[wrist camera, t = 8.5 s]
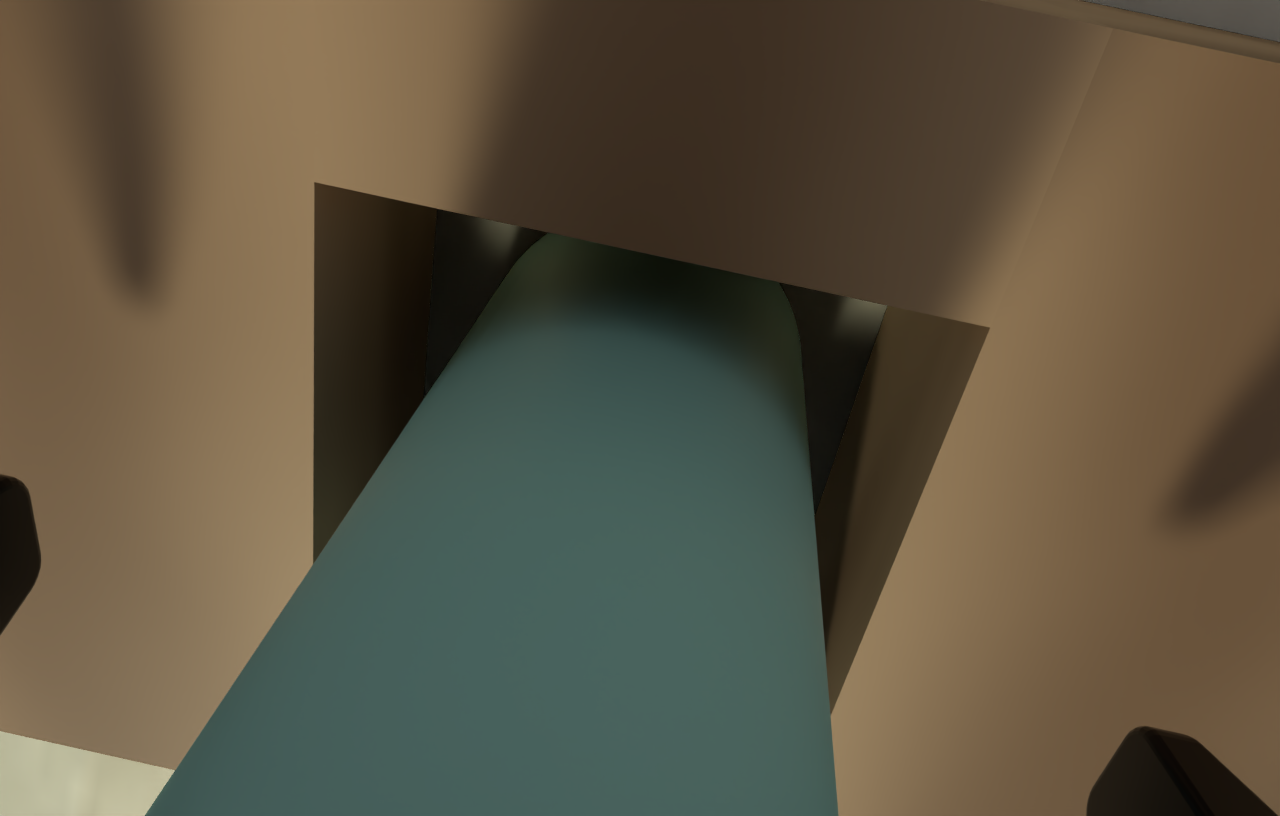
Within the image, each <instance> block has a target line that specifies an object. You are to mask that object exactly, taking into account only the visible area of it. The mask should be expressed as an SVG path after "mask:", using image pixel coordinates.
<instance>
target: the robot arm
mask: <svg viewBox="0 0 1280 816" xmlns="http://www.w3.org/2000/svg"><path fill="white" fill-rule="evenodd" d="M40 568H41V550H40V545H39V540H38V534H37V529H36V523H35V518H34V513H33V507H32V502H31V496H30V493H29V490H28V488H27V487H26V486H25V484H24V483H23V482H22V481H21V480H19V479H17V478H15V477H12V476H7V475H3V474H0V635H1V634H2V633H3V631H4V630H5V628H6V627H7V625H8V624H9V622H10V621H11V619H12V618H13V616H14V615H15V613H16V612H17V611H18V609H19V608H20V606H21V605H22V603H23V602H24V600H25V599H26V597H27V596H28V594H29V593H30V591H31V590H32V588H33V586H34V585H35V583H36V580H37V578H38V575H39V572H40ZM1086 816H1278V815H1277V814H1276V813H1275V812H1274V811H1273V810H1272V809H1271V808H1270V807H1269V806H1268V805H1266V804H1265V803H1264V802H1263V801H1262V800H1261V799H1260V798H1259V797H1258V796H1257V795H1256V794H1255V793H1254V792H1253V791H1251V790H1250V789H1249V788H1248V787H1247V786H1246V785H1245V784H1244V783H1243V782H1242V781H1241V780H1240V779H1239V778H1237V777H1236V776H1235V775H1234V774H1233V773H1232V772H1231V771H1230V770H1229V769H1228V768H1227V767H1226V766H1225V765H1224V764H1222V763H1221V762H1220V761H1219V760H1218V759H1217V758H1216V757H1215V756H1214V755H1213V754H1212V753H1211V752H1210V751H1209V750H1207V749H1206V748H1205V747H1204V746H1203V745H1202V744H1201V743H1200V742H1198V741H1197V740H1196V739H1194V738H1192V737H1190V736H1188V735H1185V734H1181V733H1177V732H1172V731H1168V730H1163V729H1159V728H1154V727H1149V726H1139V727H1136V728H1135V729H1133V730H1131V731H1130V732H1129V733H1128V734H1127V735H1126V736H1125V738H1124V739H1123V741H1122V742H1121V744H1120V746H1119V747H1118V749H1117V750H1116V752H1115V753H1114V755H1113V756H1112V758H1111V759H1110V761H1109V762H1108V764H1107V766H1106V767H1105V769H1104V770H1103V772H1102V773H1101V775H1100V776H1099V778H1098V779H1097V781H1096V782H1095V784H1094V786H1093V787H1092V789H1091V791H1090V794H1089V797H1088V801H1087V807H1086Z"/></svg>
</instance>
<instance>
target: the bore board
mask: <svg viewBox="0 0 1280 816" xmlns="http://www.w3.org/2000/svg"><path fill="white" fill-rule="evenodd" d="M437 209H442V210H446V211H451V212H456V213H460V214H465V215H470V216H474V217H479V218H484V219H488V220H493V221H497V222H502V223H507V224H511V225H516V226H521V227H525V228H530V229H535V230H539V231H544V232H549V233H553V234H558V235H562V236H567V237H572V238H576V239H581V240H586V241H590V242H595V243H600V244H604V245H609V246H614V247H618V248H623V249H628V250H632V251H637V252H641V253H646V254H651V255H655V256H660V257H665V258H669V259H674V260H679V261H683V262H688V263H693V264H697V265H702V266H706V267H711V268H716V269H720V270H725V271H730V272H734V273H739V274H744V275H748V276H753V277H758V278H762V279H767V280H772V281H776V282H781V283H785V284H790V285H795V286H799V287H804V288H809V289H813V290H818V291H823V292H827V293H832V294H837V295H841V296H846V297H850V298H855V299H860V300H864V301H869V302H874V303H878V304H883V305H888V306H887V309H886V312H885V315H884V317H883V320H882V323H881V326H880V329H879V332H878V335H877V338H876V341H875V344H874V347H873V349H872V352H871V355H870V358H869V361H868V364H867V367H866V370H865V373H864V376H863V378H862V381H861V384H860V387H859V390H858V393H857V396H856V399H855V402H854V405H853V407H852V410H851V413H850V416H849V419H848V422H847V425H846V428H845V431H844V434H843V437H842V439H841V442H840V445H839V448H838V451H837V454H836V457H835V460H834V463H833V466H832V468H831V471H830V474H829V477H828V480H827V483H826V486H825V489H824V492H823V495H822V497H821V500H820V503H819V506H818V509H817V512H816V515H815V531H816V543H817V555H818V568H819V580H820V592H821V605H822V617H823V629H824V642H825V654H826V666H827V679H828V691H829V703H830V716H831V728H832V740H833V753H834V765H835V778H836V790H837V802H838V815H839V816H1086V807H1087V801H1088V797H1089V794H1090V791H1091V789H1092V787H1093V786H1094V784H1095V782H1096V781H1097V779H1098V778H1099V776H1100V775H1101V773H1102V772H1103V770H1104V769H1105V767H1106V766H1107V764H1108V762H1109V761H1110V759H1111V758H1112V756H1113V755H1114V753H1115V752H1116V750H1117V749H1118V747H1119V746H1120V744H1121V742H1122V741H1123V739H1124V738H1125V736H1126V735H1127V734H1128V733H1129V732H1130V731H1131V730H1133V729H1135V728H1136V727H1139V726H1149V727H1154V728H1159V729H1163V730H1168V731H1172V732H1177V733H1181V734H1185V735H1188V736H1190V737H1192V738H1194V739H1196V740H1197V741H1198V742H1200V743H1201V744H1202V745H1203V746H1204V747H1205V748H1206V749H1207V750H1209V751H1210V752H1211V753H1212V754H1213V755H1214V756H1215V757H1216V758H1217V759H1218V760H1219V761H1220V762H1221V763H1222V764H1224V765H1225V766H1226V767H1227V768H1228V769H1229V770H1230V771H1231V772H1232V773H1233V774H1234V775H1235V776H1236V777H1237V778H1239V779H1240V780H1241V781H1242V782H1243V783H1244V784H1245V785H1246V786H1247V787H1248V788H1249V789H1250V790H1251V791H1253V792H1254V793H1255V794H1256V795H1257V796H1258V797H1259V798H1260V799H1261V800H1262V801H1263V802H1264V803H1265V804H1266V805H1268V806H1269V807H1270V808H1271V809H1272V810H1273V811H1274V812H1275V813H1276V814H1277V815H1278V816H1280V42H1276V41H1271V40H1266V39H1261V38H1257V37H1252V36H1247V35H1242V34H1238V33H1233V32H1228V31H1223V30H1219V29H1214V28H1209V27H1204V26H1200V25H1195V24H1190V23H1185V22H1181V21H1176V20H1171V19H1166V18H1162V17H1157V16H1152V15H1147V14H1143V13H1138V12H1133V11H1128V10H1124V9H1119V8H1114V7H1110V6H1105V5H1100V4H1095V3H1091V2H1086V1H1081V0H0V474H3V475H7V476H12V477H15V478H17V479H19V480H21V481H22V482H23V483H24V484H25V486H26V487H27V488H28V490H29V493H30V496H31V502H32V507H33V513H34V518H35V523H36V529H37V534H38V540H39V545H40V550H41V568H40V572H39V575H38V578H37V580H36V583H35V585H34V586H33V588H32V590H31V591H30V593H29V594H28V596H27V597H26V599H25V600H24V602H23V603H22V605H21V606H20V608H19V609H18V611H17V612H16V613H15V615H14V616H13V618H12V619H11V621H10V622H9V624H8V625H7V627H6V628H5V630H4V631H3V633H2V634H1V635H0V731H3V732H7V733H12V734H16V735H20V736H25V737H29V738H34V739H38V740H43V741H47V742H52V743H56V744H61V745H65V746H70V747H74V748H79V749H83V750H88V751H92V752H96V753H101V754H105V755H110V756H114V757H119V758H123V759H128V760H132V761H137V762H141V763H146V764H150V765H155V766H159V767H164V768H168V769H172V770H176V769H177V767H178V766H179V764H180V763H181V761H182V760H183V758H184V757H185V755H186V754H187V752H188V751H189V749H190V748H191V746H192V745H193V743H194V742H195V740H196V739H197V737H198V736H199V734H200V733H201V731H202V730H203V728H204V727H205V725H206V724H207V722H208V721H209V719H210V718H211V716H212V715H213V713H214V712H215V710H216V709H217V707H218V706H219V704H220V703H221V701H222V700H223V698H224V697H225V695H226V694H227V692H228V691H229V689H230V688H231V686H232V685H233V683H234V682H235V680H236V679H237V677H238V676H239V674H240V673H241V671H242V670H243V668H244V667H245V665H246V664H247V662H248V661H249V659H250V658H251V656H252V655H253V653H254V652H255V651H256V649H257V648H258V646H259V645H260V643H261V642H262V640H263V639H264V637H265V636H266V634H267V633H268V631H269V630H270V628H271V627H272V625H273V624H274V622H275V621H276V619H277V618H278V616H279V615H280V613H281V612H282V610H283V609H284V607H285V606H286V604H287V603H288V601H289V600H290V598H291V597H292V595H293V594H294V592H295V591H296V589H297V588H298V586H299V585H300V583H301V582H302V580H303V579H304V577H305V576H306V574H307V573H308V571H309V570H310V568H311V567H312V565H313V564H314V562H315V561H316V559H317V558H318V556H319V555H320V553H321V552H322V550H323V549H324V547H325V546H326V544H327V543H328V541H329V540H330V538H331V537H332V535H333V534H334V532H335V531H336V529H337V528H338V526H339V525H340V523H341V522H342V521H343V519H344V518H345V516H346V515H347V513H348V512H349V510H350V509H351V507H352V506H353V504H354V503H355V501H356V500H357V498H358V497H359V495H360V494H361V492H362V491H363V489H364V488H365V486H366V485H367V483H368V482H369V480H370V479H371V477H372V476H373V474H374V473H375V471H376V470H377V468H378V467H379V465H380V464H381V462H382V461H383V459H384V458H385V456H386V455H387V453H388V452H389V450H390V449H391V447H392V446H393V444H394V443H395V441H396V440H397V438H398V437H399V435H400V434H401V432H402V431H403V429H404V428H405V426H406V425H407V423H408V422H409V420H410V419H411V417H412V416H413V414H414V413H415V411H416V410H417V408H418V407H419V405H420V404H421V402H422V401H423V396H424V382H425V369H426V355H427V341H428V327H429V313H430V300H431V286H432V272H433V258H434V244H435V230H436V217H437Z"/></svg>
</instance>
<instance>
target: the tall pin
mask: <svg viewBox="0 0 1280 816" xmlns="http://www.w3.org/2000/svg"><path fill="white" fill-rule="evenodd" d="M145 816H839V815H838V802H837V790H836V778H835V765H834V753H833V740H832V728H831V716H830V703H829V691H828V679H827V666H826V654H825V642H824V629H823V617H822V605H821V592H820V580H819V568H818V555H817V543H816V531H815V518H814V506H813V494H812V481H811V469H810V457H809V444H808V432H807V420H806V407H805V395H804V383H803V370H802V358H801V346H800V337H799V332H798V328H797V323H796V319H795V316H794V314H793V311H792V308H791V306H790V303H789V300H788V299H787V297H786V295H785V293H784V291H783V290H782V288H781V286H780V284H779V282H776V281H772V280H767V279H762V278H758V277H753V276H748V275H744V274H739V273H734V272H730V271H725V270H720V269H716V268H711V267H706V266H702V265H697V264H693V263H688V262H683V261H679V260H674V259H669V258H665V257H660V256H655V255H651V254H646V253H641V252H637V251H632V250H628V249H623V248H618V247H614V246H609V245H604V244H600V243H595V242H590V241H586V240H581V239H576V238H572V237H567V236H562V235H558V234H553V233H547V234H546V235H545V236H543V237H542V238H541V239H539V240H538V241H537V242H535V243H534V244H533V245H532V246H531V247H530V248H529V249H528V250H527V251H526V252H525V253H524V254H523V255H522V256H521V257H520V258H519V259H518V260H517V262H516V263H515V264H514V266H513V267H512V268H511V270H510V271H509V273H508V274H507V275H506V277H505V278H504V280H503V281H502V283H501V284H500V286H499V287H498V289H497V290H496V292H495V293H494V295H493V296H492V298H491V299H490V301H489V302H488V304H487V305H486V307H485V308H484V310H483V311H482V313H481V314H480V316H479V317H478V319H477V320H476V322H475V323H474V325H473V326H472V328H471V329H470V331H469V332H468V334H467V335H466V337H465V338H464V340H463V341H462V343H461V344H460V346H459V347H458V349H457V350H456V352H455V353H454V355H453V356H452V358H451V359H450V361H449V362H448V364H447V365H446V367H445V368H444V370H443V371H442V373H441V374H440V376H439V377H438V379H437V380H436V382H435V383H434V385H433V386H432V388H431V389H430V391H429V392H428V393H427V395H426V396H425V398H424V399H423V401H422V402H421V404H420V405H419V407H418V408H417V410H416V411H415V413H414V414H413V416H412V417H411V419H410V420H409V422H408V423H407V425H406V426H405V428H404V429H403V431H402V432H401V434H400V435H399V437H398V438H397V440H396V441H395V443H394V444H393V446H392V447H391V449H390V450H389V452H388V453H387V455H386V456H385V458H384V459H383V461H382V462H381V464H380V465H379V467H378V468H377V470H376V471H375V473H374V474H373V476H372V477H371V479H370V480H369V482H368V483H367V485H366V486H365V488H364V489H363V491H362V492H361V494H360V495H359V497H358V498H357V500H356V501H355V503H354V504H353V506H352V507H351V509H350V510H349V512H348V513H347V515H346V516H345V518H344V519H343V521H342V522H341V523H340V525H339V526H338V528H337V529H336V531H335V532H334V534H333V535H332V537H331V538H330V540H329V541H328V543H327V544H326V546H325V547H324V549H323V550H322V552H321V553H320V555H319V556H318V558H317V559H316V561H315V562H314V564H313V565H312V567H311V568H310V570H309V571H308V573H307V574H306V576H305V577H304V579H303V580H302V582H301V583H300V585H299V586H298V588H297V589H296V591H295V592H294V594H293V595H292V597H291V598H290V600H289V601H288V603H287V604H286V606H285V607H284V609H283V610H282V612H281V613H280V615H279V616H278V618H277V619H276V621H275V622H274V624H273V625H272V627H271V628H270V630H269V631H268V633H267V634H266V636H265V637H264V639H263V640H262V642H261V643H260V645H259V646H258V648H257V649H256V651H255V652H254V653H253V655H252V656H251V658H250V659H249V661H248V662H247V664H246V665H245V667H244V668H243V670H242V671H241V673H240V674H239V676H238V677H237V679H236V680H235V682H234V683H233V685H232V686H231V688H230V689H229V691H228V692H227V694H226V695H225V697H224V698H223V700H222V701H221V703H220V704H219V706H218V707H217V709H216V710H215V712H214V713H213V715H212V716H211V718H210V719H209V721H208V722H207V724H206V725H205V727H204V728H203V730H202V731H201V733H200V734H199V736H198V737H197V739H196V740H195V742H194V743H193V745H192V746H191V748H190V749H189V751H188V752H187V754H186V755H185V757H184V758H183V760H182V761H181V763H180V764H179V766H178V767H177V769H176V770H175V772H174V773H173V775H172V776H171V778H170V779H169V781H168V782H167V783H166V785H165V786H164V788H163V789H162V791H161V792H160V794H159V795H158V797H157V798H156V800H155V801H154V803H153V804H152V806H151V807H150V809H149V810H148V812H147V813H146V815H145Z"/></svg>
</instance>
